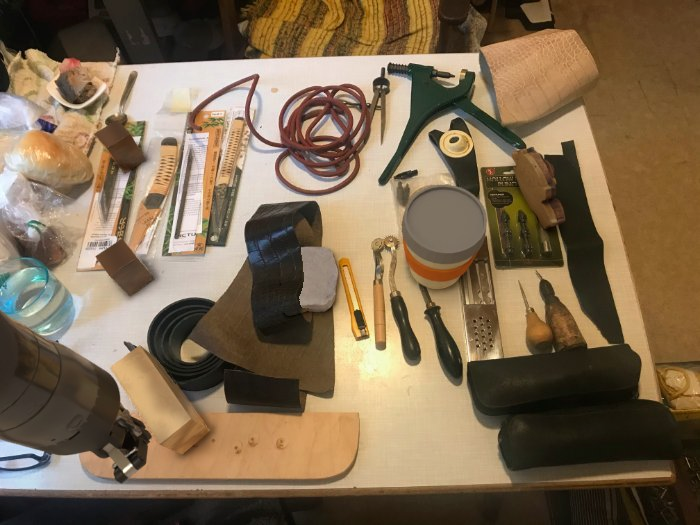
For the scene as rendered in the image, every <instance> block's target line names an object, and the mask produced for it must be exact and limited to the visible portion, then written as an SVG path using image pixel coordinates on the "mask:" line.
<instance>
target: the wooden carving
mask: <svg viewBox="0 0 700 525" xmlns="http://www.w3.org/2000/svg"><path fill="white" fill-rule="evenodd" d="M511 157H512V158H511V159H512V160H513V162H514V164H515V166H513V167H512V168H513V172H514V176H515V178H516V182H517V184H518V187H519V189H520V191H521V193H522V195H523V198H524V199H525V201H526V203H527V205H528V206H529V208H530V210H531V211H532V212H533V213H534V214H535V215H536V216H537V219H538V221H539V223H540V225H541V227H542V229H544V230H547V229H549V228H552V227H555V226H561V225H562V224H565V222H566V216H565V215H566V214H565V210H564V207H563V205H562V203H561V201H560V200H559V199H558V198H556V196H557V186H556V185H557V180H556V178H555V175H556V174H555V168H554V165H553V164H552V163H551V162H549V160H547V159H545V158H544V156H543V154H542V153H540V152H538V151H537V150H536V149H535V147H533V146H529V147H528V148H521V149H518V150H513V151H512V152H511Z"/></svg>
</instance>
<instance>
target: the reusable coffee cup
mask: <svg viewBox="0 0 700 525" xmlns="http://www.w3.org/2000/svg"><path fill="white" fill-rule="evenodd" d="M402 215H403V216H402V220H401V234H402V236H401V237H402V245H403V251H404V257H405V260H406V263H407V264H408V266H409V272H410V274H411V275H412V277H413V279H414V280H415V281H416V282H417V283H418V284H420V285H421V286H423V287H425V288H428V289H432V290H441V289H446V288H449V287H451V286H453V285H455V284H456V282H458V280H459V279H460V277H461V276H463V275H464V274H465V273H466V272H467V271H468V270H469V268H470V266H471V265H472V263H473V262H474V260H475V258H476V257H477V255H478V253H479V251H480V249H481V247H482V246H483V244H484V241H485V239H486V233H487V226H488V217H487V212H486V209H485V207H484V205H483V203H482V202H481V201H480V200H479V198H478V197H477V196H475V194H473V193H472V192H470V191H469V190H467V189H464V188H463V187H460V186H457V185H452V184H436V185H435V184H434V185H430V186H427V187H425V188H422V189H420V190H419V191H417V192H416V193H415V194H414V195H412V197H411V198H410V199H409V200H408V202H407V204H406V205H405V208H404V212H403V214H402Z"/></svg>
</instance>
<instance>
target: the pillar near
mask: <svg viewBox="0 0 700 525" xmlns="http://www.w3.org/2000/svg"><path fill="white" fill-rule="evenodd" d="M95 258H96V260H97V261H98V263H99V264H100V265H101V267H102V268H103V269H104V271H105V272H106V273H107V275H108V276H109V278H110V279H112V280H113V281H114V282H115V284H116V285H117V286H119V288H121V290H123V291H124V292H125V293H126V294H127V295H128V296H129V297H132V296H133V295H135V294H136V293H138V292H139V291H140V290H142V289H143V288H145V287H146V286H149V284H151V283H152V282H154V281H155V280H156V278H155V277H154V275H153V274H152V273H151V272H150V270H149V269H148V267H147V266H146V265H145V264H144V262H143V261H142V259H141V258H139V256H138V255H137V254H136V253H135V252H134V251H133V249H132V248H131V247H130V246H129V245H128V243H127V242H126V241H125V240H124V239H123V238H121V239H119V240H117V241H116V242H115V243H113V244H111V245H110V246H109V247H107V248H106V249H103V250H102V251H101V252H100V253H98V254H96V255H95Z"/></svg>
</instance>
